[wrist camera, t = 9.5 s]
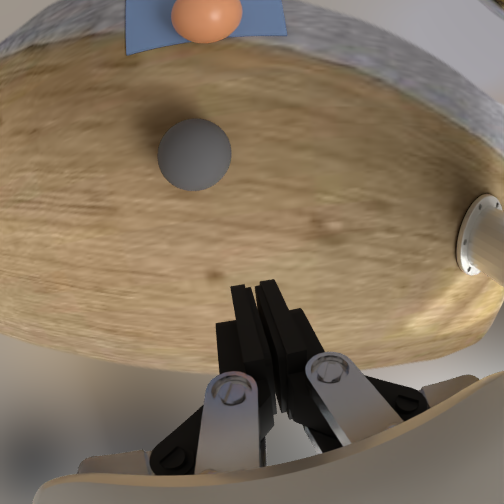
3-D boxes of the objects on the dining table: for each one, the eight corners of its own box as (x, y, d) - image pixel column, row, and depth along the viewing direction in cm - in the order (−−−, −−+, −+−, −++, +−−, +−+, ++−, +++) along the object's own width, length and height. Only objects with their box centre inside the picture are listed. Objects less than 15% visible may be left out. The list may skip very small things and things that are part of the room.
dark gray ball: (232, 192, 18) (248, 163, 22) (198, 115, 15) (223, 102, 19) (165, 212, 20) (192, 181, 24) (131, 147, 17) (166, 127, 21)
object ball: (246, 50, 17) (236, 28, 19) (249, -11, 12) (238, -22, 14) (172, 58, 16) (175, 34, 18) (165, -4, 11) (170, -16, 13)
